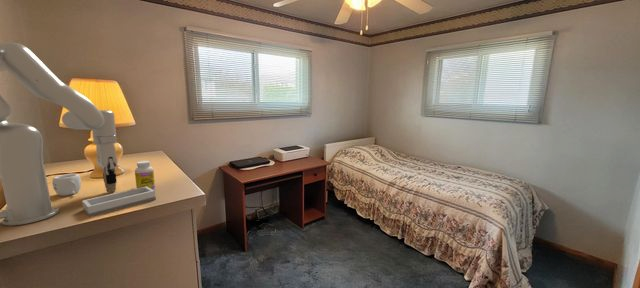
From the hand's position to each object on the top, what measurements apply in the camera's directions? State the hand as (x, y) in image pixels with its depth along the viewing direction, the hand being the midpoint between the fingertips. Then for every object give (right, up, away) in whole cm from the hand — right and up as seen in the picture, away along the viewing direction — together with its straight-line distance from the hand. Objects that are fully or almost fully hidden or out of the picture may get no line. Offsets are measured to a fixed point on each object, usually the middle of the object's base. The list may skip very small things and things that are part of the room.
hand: (110, 182), depth 109 cm
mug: (-15, -5, -2) cm, 16 cm away
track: (+15, -7, -13) cm, 20 cm away
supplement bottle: (+14, -4, +2) cm, 15 cm away
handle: (0, -4, +1) cm, 4 cm away
